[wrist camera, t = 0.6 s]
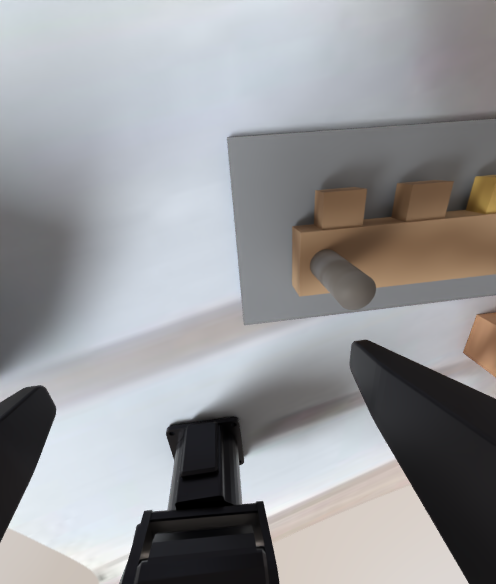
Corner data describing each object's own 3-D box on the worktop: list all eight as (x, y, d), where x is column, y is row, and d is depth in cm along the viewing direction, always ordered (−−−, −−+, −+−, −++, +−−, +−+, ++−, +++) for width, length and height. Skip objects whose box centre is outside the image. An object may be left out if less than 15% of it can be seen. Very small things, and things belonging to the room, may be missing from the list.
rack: (481, 263, 19) (582, 300, 14) (291, 284, 18) (322, 333, 13) (512, 172, 16) (651, 176, 11) (292, 191, 15) (331, 205, 10)
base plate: (547, 286, 21) (553, 288, 21) (243, 322, 20) (244, 325, 19) (632, 109, 16) (641, 108, 16) (226, 138, 14) (227, 137, 14)
